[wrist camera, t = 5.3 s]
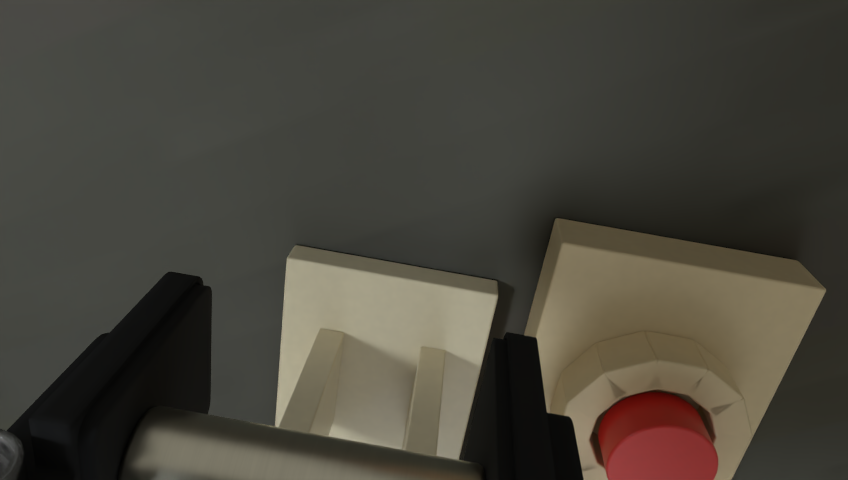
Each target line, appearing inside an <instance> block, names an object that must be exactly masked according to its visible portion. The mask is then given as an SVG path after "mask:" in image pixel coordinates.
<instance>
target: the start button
mask: <svg viewBox="0 0 848 480" xmlns="http://www.w3.org/2000/svg"><path fill="white" fill-rule="evenodd" d="M598 439H599V444H600V448H601V453H602V457H603V461H604V466H605V470H606V474H607V478H608V480H714V478H715V476H716V474H717V470H718V455H717V452H716V449H715V447H714V445H713V443H712V440H711V438H710V436H709V434H708V432H707V429H706V427H705V425H704V423H703V421H702V419H701V416H700V415H699V413H698V411H697V410H696V409H695V408H694V407H693V406H692V405H691V404H690V403H688V402H687V401H685V400H684V399H682V398H680V397H677V396H675V395H672V394H667V393H661V392H647V393H641V394H636V395H633V396H630V397H628V398H625V399H623V400H621V401H620V402H618V403H617V404H615V405H614V406H613V407H612V408H611V409H609V411H608V412H607V413H606V414H605V416H604V417H603V419H602V421H601V423H600V427H599V431H598Z"/></svg>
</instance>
